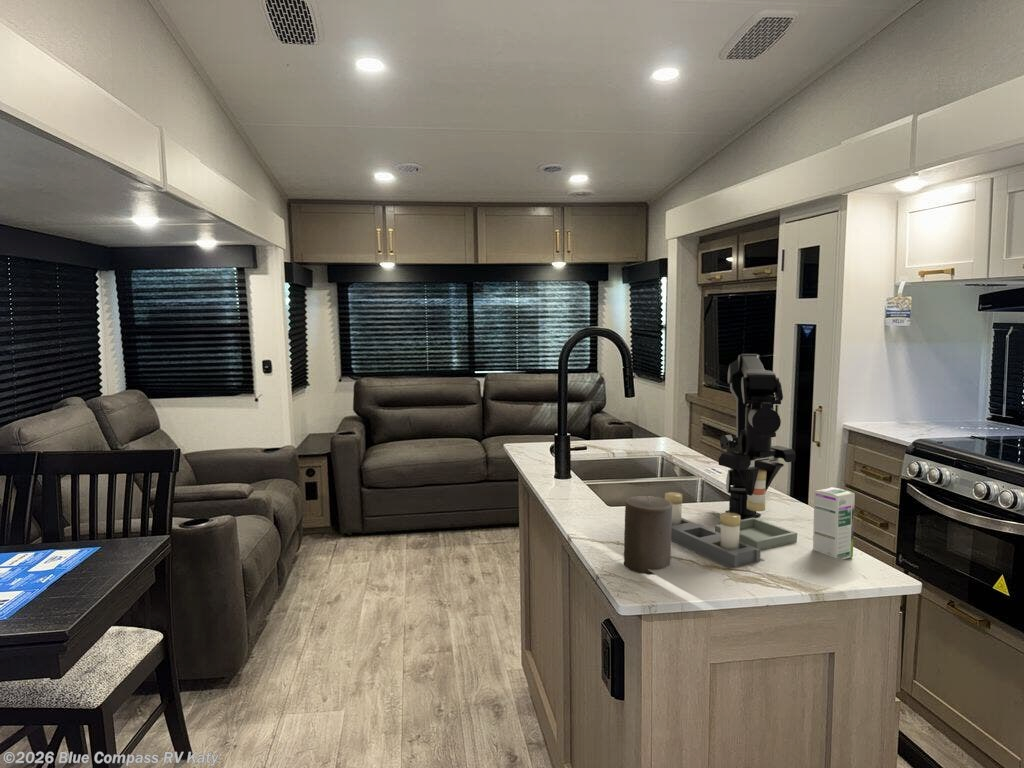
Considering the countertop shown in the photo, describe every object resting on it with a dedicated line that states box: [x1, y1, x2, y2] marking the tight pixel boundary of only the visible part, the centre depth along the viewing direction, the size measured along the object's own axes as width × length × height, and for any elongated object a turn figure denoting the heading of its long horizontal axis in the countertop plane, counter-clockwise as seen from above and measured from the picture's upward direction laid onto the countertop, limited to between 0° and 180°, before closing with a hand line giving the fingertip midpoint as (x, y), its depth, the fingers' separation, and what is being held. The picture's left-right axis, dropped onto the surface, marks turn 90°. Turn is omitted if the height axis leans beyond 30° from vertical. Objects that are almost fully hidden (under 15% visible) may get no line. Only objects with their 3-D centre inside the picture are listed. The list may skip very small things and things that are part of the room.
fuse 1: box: [664, 491, 683, 526], centre depth 149 cm, size 4×4×9 cm
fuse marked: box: [747, 469, 767, 512], centre depth 144 cm, size 4×4×9 cm
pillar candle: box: [623, 495, 673, 575], centre depth 131 cm, size 10×10×15 cm
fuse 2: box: [719, 512, 741, 551], centre depth 133 cm, size 4×4×9 cm
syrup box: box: [812, 486, 856, 560], centre depth 135 cm, size 6×6×14 cm
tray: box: [714, 517, 798, 551], centre depth 145 cm, size 13×13×3 cm
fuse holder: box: [671, 517, 765, 570], centre depth 142 cm, size 28×10×4 cm, turn 26°
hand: (756, 493), depth 144 cm, fingers closed on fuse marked, 4 cm apart
